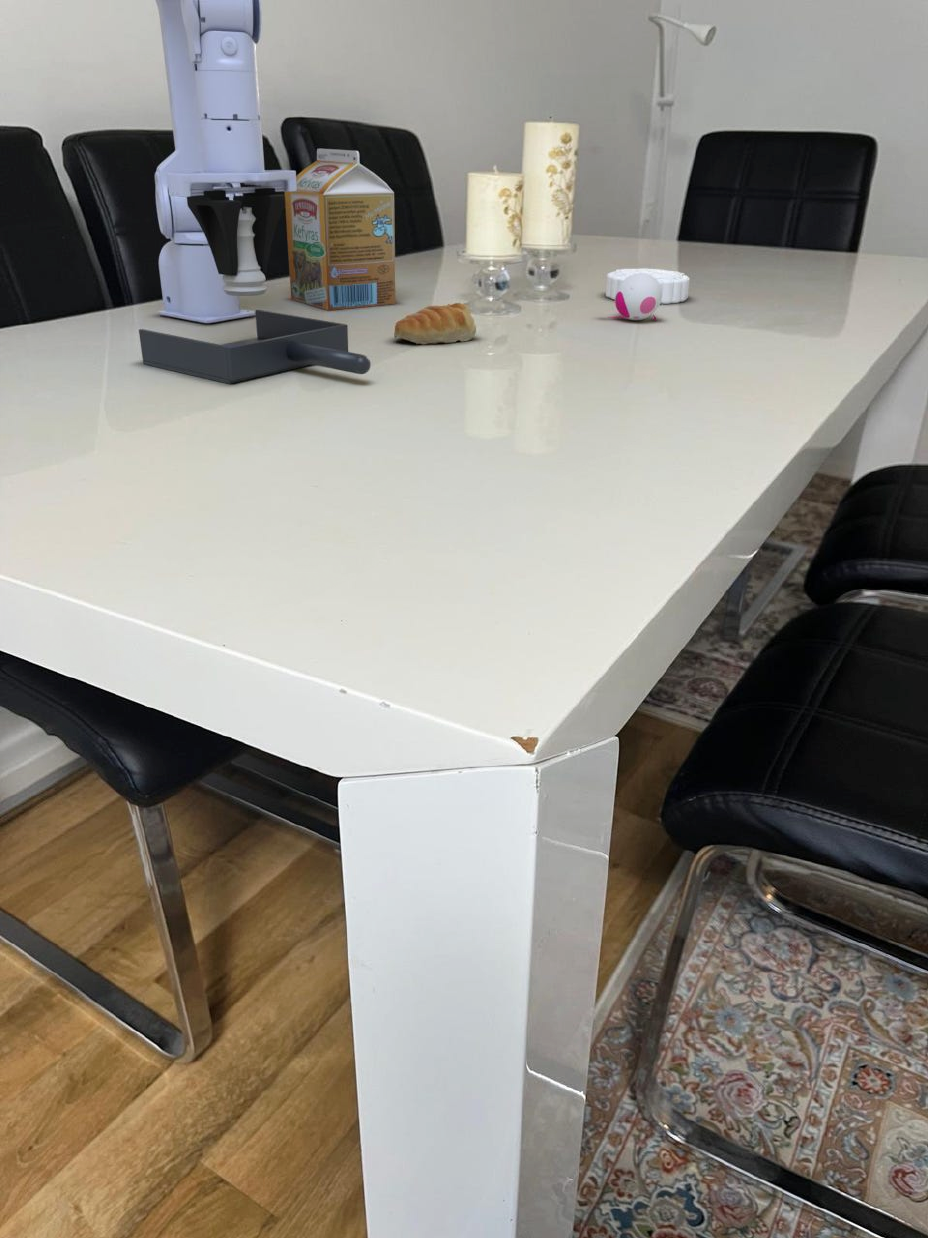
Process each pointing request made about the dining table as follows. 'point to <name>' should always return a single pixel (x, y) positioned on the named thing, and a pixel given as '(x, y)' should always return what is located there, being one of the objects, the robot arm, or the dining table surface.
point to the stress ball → (638, 297)
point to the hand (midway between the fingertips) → (242, 272)
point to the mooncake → (670, 281)
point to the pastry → (437, 325)
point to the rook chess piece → (245, 261)
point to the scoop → (257, 350)
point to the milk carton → (341, 234)
